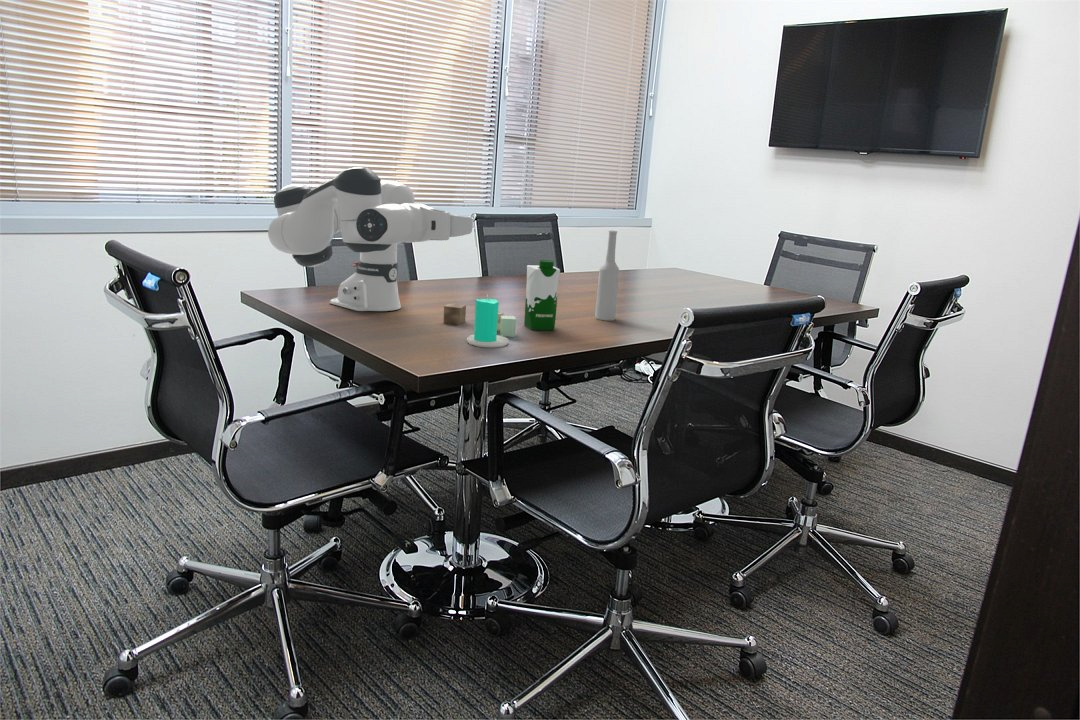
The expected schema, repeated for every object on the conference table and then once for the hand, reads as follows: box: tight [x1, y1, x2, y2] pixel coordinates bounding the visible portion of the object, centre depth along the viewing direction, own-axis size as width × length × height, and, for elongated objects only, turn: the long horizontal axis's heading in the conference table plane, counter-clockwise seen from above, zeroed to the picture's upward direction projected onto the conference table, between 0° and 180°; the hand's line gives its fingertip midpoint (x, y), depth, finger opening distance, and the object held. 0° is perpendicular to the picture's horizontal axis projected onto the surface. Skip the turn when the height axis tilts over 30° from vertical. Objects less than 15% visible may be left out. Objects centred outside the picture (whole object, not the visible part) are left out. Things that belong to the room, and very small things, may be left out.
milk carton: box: [523, 259, 561, 331], centre depth 223 cm, size 9×9×20 cm
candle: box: [473, 294, 500, 342], centre depth 200 cm, size 6×6×12 cm
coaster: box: [466, 334, 509, 349], centre depth 203 cm, size 11×11×1 cm
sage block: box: [499, 315, 517, 338], centre depth 213 cm, size 4×4×5 cm
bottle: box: [594, 230, 621, 322], centre depth 242 cm, size 7×7×28 cm
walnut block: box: [443, 302, 467, 325], centre depth 225 cm, size 5×5×5 cm
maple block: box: [497, 311, 504, 332], centre depth 218 cm, size 4×6×5 cm, turn 131°
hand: (450, 220), depth 187 cm, fingers open, 8 cm apart
